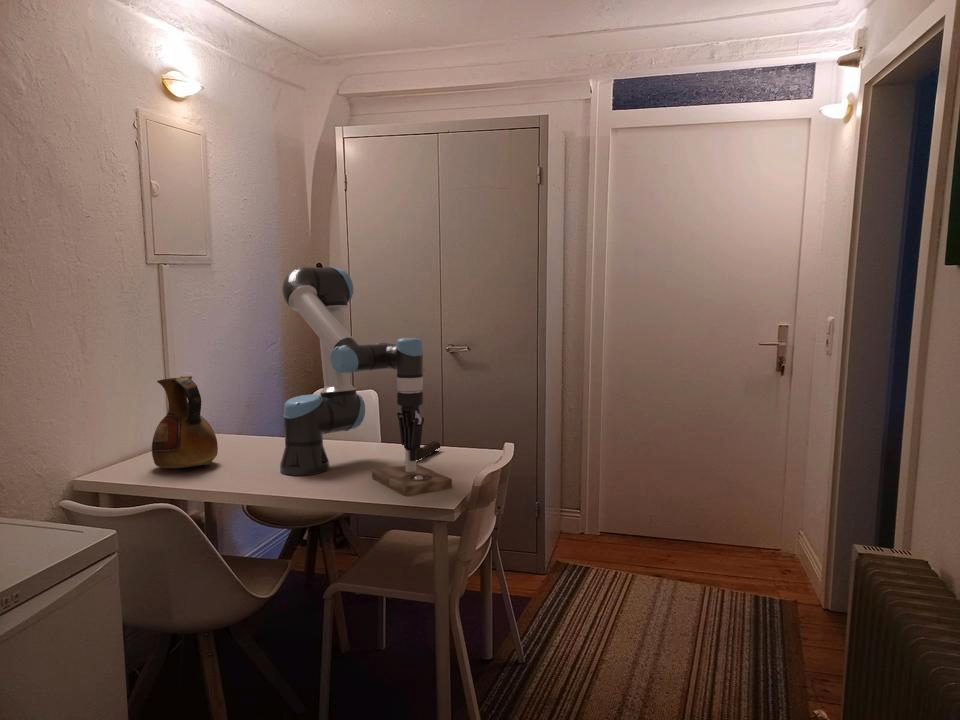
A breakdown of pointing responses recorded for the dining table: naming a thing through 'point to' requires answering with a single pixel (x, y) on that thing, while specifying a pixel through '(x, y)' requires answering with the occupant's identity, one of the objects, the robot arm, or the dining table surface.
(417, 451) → the hand tool
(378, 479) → the walnut plate
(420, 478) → the steel ball
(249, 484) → the dining table surface
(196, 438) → the ceramic pitcher
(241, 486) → the dining table surface
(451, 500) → the dining table surface
